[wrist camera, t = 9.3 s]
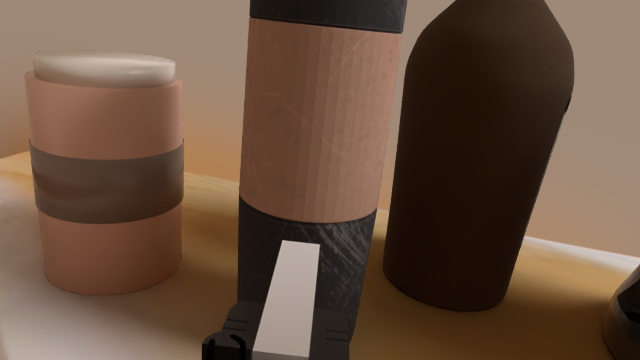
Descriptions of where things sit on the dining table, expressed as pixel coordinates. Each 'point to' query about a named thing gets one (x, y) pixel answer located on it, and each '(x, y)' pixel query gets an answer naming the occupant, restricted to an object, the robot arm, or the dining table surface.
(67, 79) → the terracotta canister
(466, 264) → the olive oil
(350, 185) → the travel mug
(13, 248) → the dining table surface
